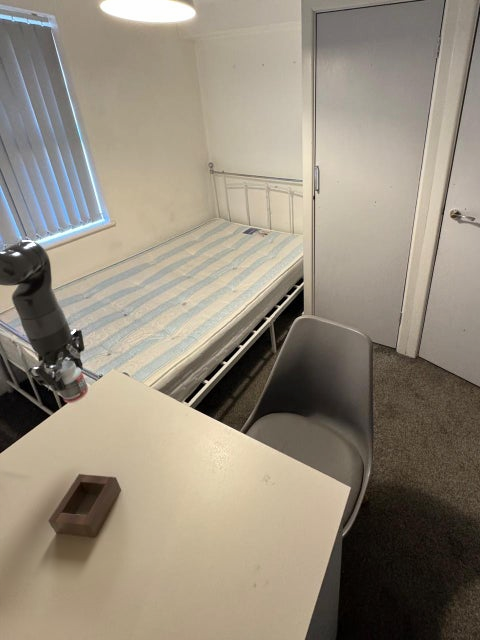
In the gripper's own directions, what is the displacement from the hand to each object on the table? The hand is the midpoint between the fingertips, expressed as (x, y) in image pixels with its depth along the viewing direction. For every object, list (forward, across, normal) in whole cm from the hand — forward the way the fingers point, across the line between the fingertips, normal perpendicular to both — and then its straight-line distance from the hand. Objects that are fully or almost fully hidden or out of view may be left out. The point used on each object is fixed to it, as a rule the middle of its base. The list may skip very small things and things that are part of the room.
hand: (69, 379), depth 80 cm
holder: (+22, +17, +10) cm, 29 cm away
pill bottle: (+6, 0, 0) cm, 6 cm away
